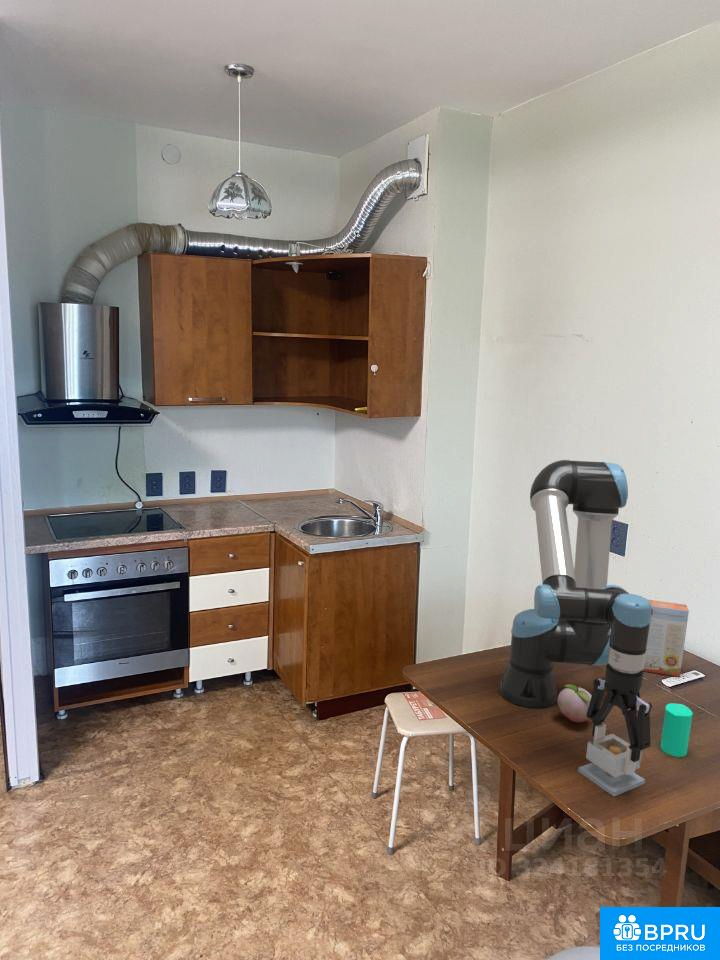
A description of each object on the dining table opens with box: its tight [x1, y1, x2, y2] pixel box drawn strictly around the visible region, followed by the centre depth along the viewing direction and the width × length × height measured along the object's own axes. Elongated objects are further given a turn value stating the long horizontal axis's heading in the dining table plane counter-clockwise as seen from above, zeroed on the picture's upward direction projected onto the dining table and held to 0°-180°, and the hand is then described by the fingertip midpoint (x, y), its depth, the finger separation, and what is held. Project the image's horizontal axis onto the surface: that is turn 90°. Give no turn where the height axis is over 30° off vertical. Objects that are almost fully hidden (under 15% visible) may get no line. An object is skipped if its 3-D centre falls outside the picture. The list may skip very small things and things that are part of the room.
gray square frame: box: [585, 733, 643, 777], centre depth 157 cm, size 8×8×4 cm
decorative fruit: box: [556, 684, 592, 723], centre depth 181 cm, size 9×8×10 cm
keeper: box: [577, 746, 646, 797], centre depth 158 cm, size 10×10×7 cm
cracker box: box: [643, 599, 690, 677], centre depth 212 cm, size 14×6×21 cm, turn 72°
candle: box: [660, 702, 694, 758], centre depth 170 cm, size 6×6×12 cm
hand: (613, 761), depth 158 cm, fingers closed on gray square frame, 8 cm apart
